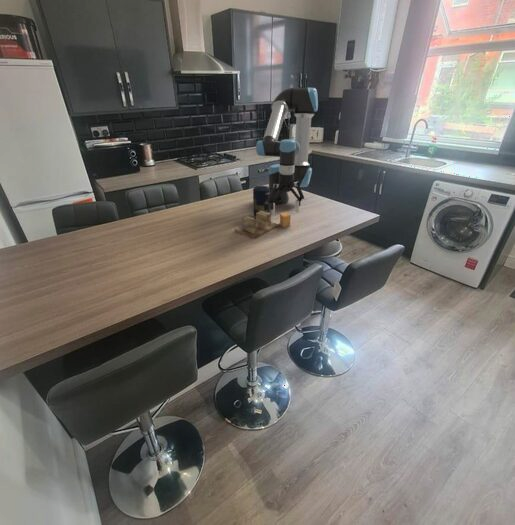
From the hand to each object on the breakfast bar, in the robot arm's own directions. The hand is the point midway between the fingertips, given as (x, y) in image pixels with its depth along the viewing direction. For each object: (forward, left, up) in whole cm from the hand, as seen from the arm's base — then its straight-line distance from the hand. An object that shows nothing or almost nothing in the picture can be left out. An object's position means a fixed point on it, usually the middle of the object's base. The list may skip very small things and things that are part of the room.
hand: (285, 213), depth 156 cm
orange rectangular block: (0, 0, -7) cm, 7 cm away
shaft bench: (+14, -8, -7) cm, 17 cm away
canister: (-1, -18, -7) cm, 19 cm away
